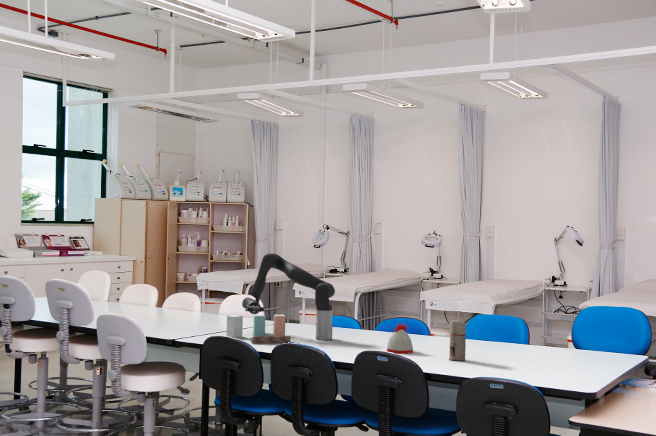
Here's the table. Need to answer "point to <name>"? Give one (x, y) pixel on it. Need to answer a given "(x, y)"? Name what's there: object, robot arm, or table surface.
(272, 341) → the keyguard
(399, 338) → the grey and red dome
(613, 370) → the table surface
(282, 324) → the salmon pink rectangular block
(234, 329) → the small box
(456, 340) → the spray can
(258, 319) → the teal rectangular block
